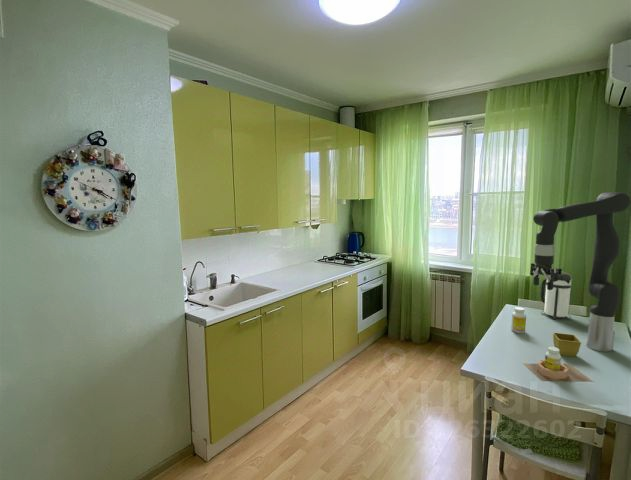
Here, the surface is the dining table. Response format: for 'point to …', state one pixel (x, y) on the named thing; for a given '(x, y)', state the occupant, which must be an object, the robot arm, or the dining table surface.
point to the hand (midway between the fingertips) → (542, 287)
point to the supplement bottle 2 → (552, 359)
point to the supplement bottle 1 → (518, 320)
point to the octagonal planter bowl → (550, 373)
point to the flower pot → (566, 344)
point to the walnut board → (572, 376)
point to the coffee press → (557, 296)
